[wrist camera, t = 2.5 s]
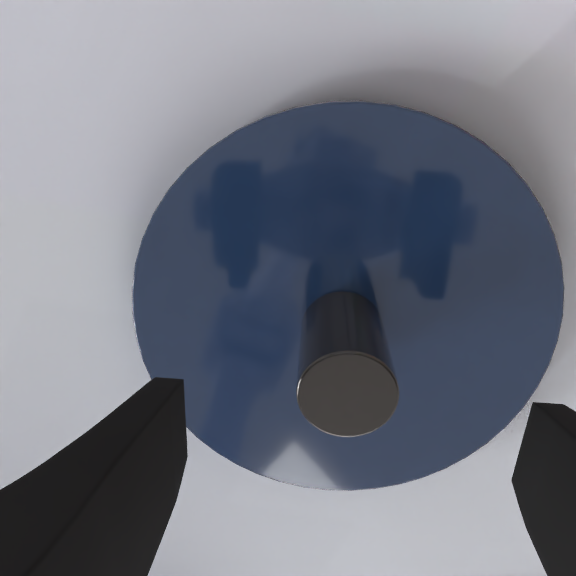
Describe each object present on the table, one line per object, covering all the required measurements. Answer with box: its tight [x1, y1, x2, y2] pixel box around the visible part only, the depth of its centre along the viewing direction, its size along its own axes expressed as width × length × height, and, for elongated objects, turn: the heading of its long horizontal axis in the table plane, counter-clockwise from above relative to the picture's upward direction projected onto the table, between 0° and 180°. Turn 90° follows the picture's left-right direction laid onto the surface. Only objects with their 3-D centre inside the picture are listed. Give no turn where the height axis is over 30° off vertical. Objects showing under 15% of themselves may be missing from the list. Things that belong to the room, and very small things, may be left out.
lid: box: [132, 100, 564, 491], centre depth 14 cm, size 13×13×5 cm
